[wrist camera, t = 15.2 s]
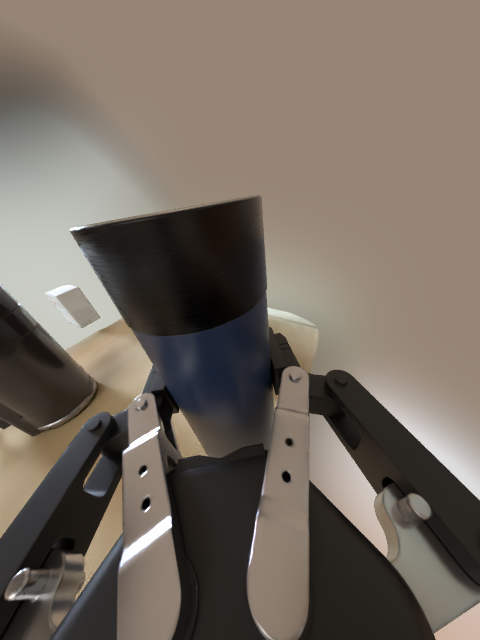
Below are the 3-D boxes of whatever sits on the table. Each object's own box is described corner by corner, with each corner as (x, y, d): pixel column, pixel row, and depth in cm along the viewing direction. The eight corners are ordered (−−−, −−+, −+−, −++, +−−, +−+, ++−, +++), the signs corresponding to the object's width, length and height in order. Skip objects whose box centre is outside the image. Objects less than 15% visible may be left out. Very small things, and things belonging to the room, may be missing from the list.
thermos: (241, 511, 13) (71, 231, 3) (200, 445, 17) (67, 228, 6) (291, 446, 15) (301, 188, 5) (246, 402, 19) (202, 204, 9)
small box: (101, 318, 55) (79, 286, 49) (81, 328, 52) (55, 296, 46) (89, 313, 59) (67, 284, 53) (69, 323, 55) (43, 292, 49)
